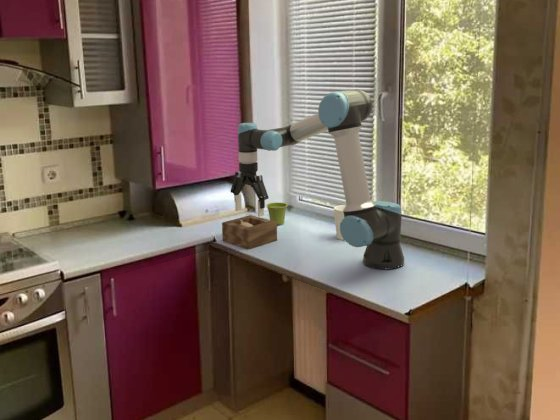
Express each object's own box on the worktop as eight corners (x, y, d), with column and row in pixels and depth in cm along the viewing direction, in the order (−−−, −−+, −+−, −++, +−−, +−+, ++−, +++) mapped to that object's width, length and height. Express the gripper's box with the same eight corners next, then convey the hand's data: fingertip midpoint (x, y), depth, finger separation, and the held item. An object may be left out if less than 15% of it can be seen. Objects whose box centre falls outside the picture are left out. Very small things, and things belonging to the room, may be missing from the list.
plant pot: (280, 227, 286) (280, 208, 284) (262, 224, 291) (262, 205, 288) (291, 222, 294) (291, 204, 291) (273, 219, 298) (273, 201, 296)
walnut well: (277, 240, 268) (276, 222, 266) (248, 249, 257) (248, 230, 255) (250, 232, 279) (250, 214, 276) (222, 241, 268) (221, 222, 265)
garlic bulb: (245, 235, 272) (245, 216, 271) (258, 237, 269) (257, 218, 267) (236, 238, 266) (235, 219, 265) (248, 240, 263) (248, 220, 262)
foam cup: (355, 234, 274) (356, 205, 271) (356, 241, 265) (356, 211, 262) (333, 234, 275) (333, 204, 272) (333, 241, 266) (333, 210, 263)
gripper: (276, 164, 253) (277, 216, 258) (234, 157, 270) (236, 206, 275) (262, 167, 248) (264, 220, 253) (220, 159, 265) (222, 209, 270)
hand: (249, 213), depth 264 cm, fingers open, 13 cm apart
